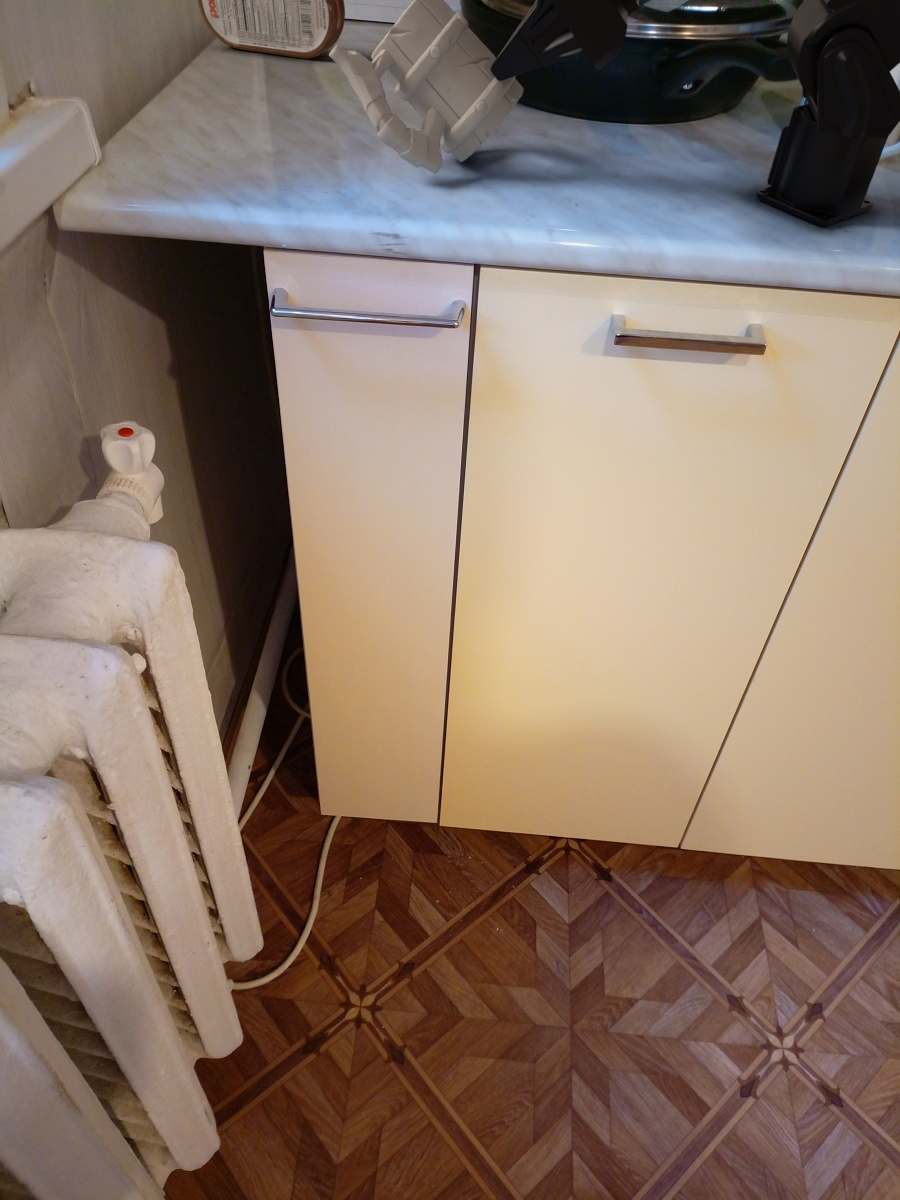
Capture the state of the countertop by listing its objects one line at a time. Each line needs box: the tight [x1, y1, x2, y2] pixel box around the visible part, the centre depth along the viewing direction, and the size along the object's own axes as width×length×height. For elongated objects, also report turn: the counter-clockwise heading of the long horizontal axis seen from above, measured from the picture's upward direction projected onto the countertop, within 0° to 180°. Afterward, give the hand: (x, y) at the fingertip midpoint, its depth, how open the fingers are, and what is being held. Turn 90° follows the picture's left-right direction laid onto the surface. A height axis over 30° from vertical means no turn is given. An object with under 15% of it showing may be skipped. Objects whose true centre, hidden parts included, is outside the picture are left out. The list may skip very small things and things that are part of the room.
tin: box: [196, 0, 346, 59], centre depth 85 cm, size 15×3×8 cm, turn 74°
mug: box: [328, 0, 525, 175], centre depth 64 cm, size 8×12×12 cm
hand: (494, 74), depth 63 cm, fingers closed
